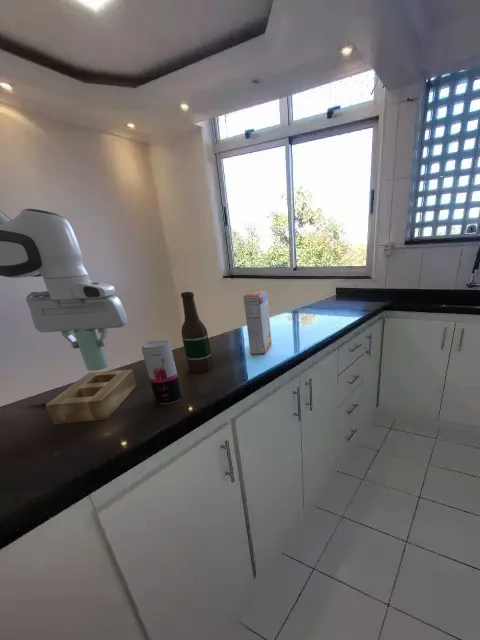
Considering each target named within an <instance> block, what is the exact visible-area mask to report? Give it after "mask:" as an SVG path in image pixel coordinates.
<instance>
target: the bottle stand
mask: <svg viewBox="0 0 480 640" xmlns="http://www.w3.org/2000/svg"><path fill="white" fill-rule="evenodd" d="M137 384H138V383H137V380H136V378H135V374H134V370H133V369H132V368H130V369H117V370H105V371H90V372H88V373H86V374H85V375H83V376H82V377H81V378H79V379H78V380H77V381H76V382H74V383H73V384H71V385H69V387H68V388H66V389H65V390H64V391H62V392H61V393H59V394H58V395H56V397H54V398H53V399H51V400H50V401H49V402H47V403H46V404H45V408H46V410H47V412H48V414H49V418H50V419H51V422H52V423H53V425H61V424H72V423H83V422H94V421H103V420H104V421H105V420H109V418H111V416H112V415H113V413H115V412H116V410H117V409H118V408H119V407H120V405H121V404H122V403H123V402H124V401H125V400H126V399H127V397H128V396H130V394H131V393H132V391H134V389H135V388H136V387H137Z"/></svg>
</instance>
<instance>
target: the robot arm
mask: <svg viewBox="0 0 480 640" xmlns="http://www.w3.org/2000/svg"><path fill="white" fill-rule="evenodd" d="M0 277H3V278H4V277H5V278H11V279H13V278H14V279H17V278H18V279H19V278H29V277H33V278H40V277H42V280H43V283H44V284H45V287H46V290H44V291H31V292H30V293H28V294H27V296H26V298H25V300H26V304H27V306H28V308H29V311H30V316H31V319H32V323H33V325H34V329H36V331H37V332H40V333H42V334H43V333H58V332H61V335H62V337H64V338H65V339H66V340H67V341H68V342H69V343H70V345H71V347H72V349H79V346H78V343H77V340H76V338H75V336H74V332H73V331H75V330H80V329H82V330H89V329H96V330H97V333H98V334H100V337H99V339H98V340H97V343H98V346H99V347H102V348H103V347H107V346H108V341H107V336H108V333H109V329H116V328H123V327H125V326H126V325H127V324H128V316H127V314H126V310H125V308H124V304H123V303H122V301H121V299H120V298H119V297H117V296H116V295H115V294H116V288H115V286H114V285H111V284H108V283H104V282H100V281H96V280H92V279H91V278H90V274H89V273H88V271H87V269H86V268H85V266H84V263H83V253H82V250H81V247H80V244H79V241H78V239H77V237H76V234H75V231H74V229H73V227H72V225H71V223H70V222H69V220H68V219H66V218H65V217H64V216H63V215H60V214H58V213H56V212H51V211H48V210H43V209H35V208H25V209H21V211H20V212H19V214H18V215H17V216H15V217H14V218H12V219H11V218H10V217H9V216H7V215H6V213H4V212H3V211H2V210H0Z"/></svg>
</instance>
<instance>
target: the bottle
mask: <svg viewBox="0 0 480 640" xmlns="http://www.w3.org/2000/svg"><path fill="white" fill-rule="evenodd" d="M72 332H73V336H74V338H75V339H76V340H77V343H78V346H79V348H78V349H79V351H80V355H81V357H82V360H83V362H84V365H85V368H86V370H87V371H89V372H97V371H102V370H103V369H106V368H108V366H109V363H108V361H107V358H106V355H105V352H104V349H103V346H102V347H99V346H98V343H97V340H98V339H100V337H99V333H98V330H97V329H89V330H82V329H80V330H74V331H72Z"/></svg>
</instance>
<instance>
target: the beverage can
mask: <svg viewBox="0 0 480 640" xmlns="http://www.w3.org/2000/svg"><path fill="white" fill-rule="evenodd" d="M141 353H142V356H143V360H144V364H145V368H146V370H147V375H148V379H149V382H150V385H151V390H152V393H153V397H154V400H155V403H157V404H159V405H170V404H174V403H177V402H179V401H180V400H181V399H182V398H183V393H182V389H181V384H180V380H179V376H178V372H177V367H176V363H175V358H174V354H173V349H172V345H171V343H170V341H169V340H163V339H161V340H152V341H148V342H145V343H142V344H141Z"/></svg>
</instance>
